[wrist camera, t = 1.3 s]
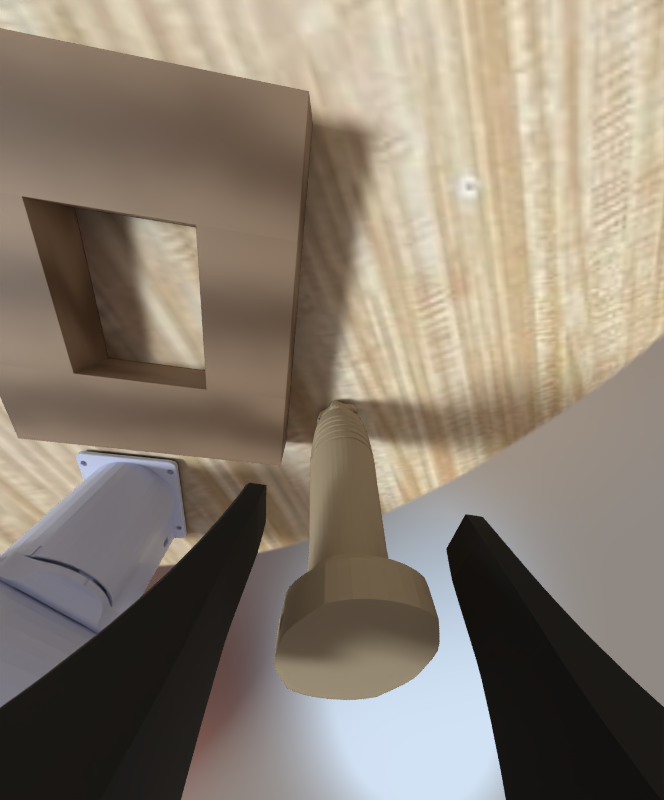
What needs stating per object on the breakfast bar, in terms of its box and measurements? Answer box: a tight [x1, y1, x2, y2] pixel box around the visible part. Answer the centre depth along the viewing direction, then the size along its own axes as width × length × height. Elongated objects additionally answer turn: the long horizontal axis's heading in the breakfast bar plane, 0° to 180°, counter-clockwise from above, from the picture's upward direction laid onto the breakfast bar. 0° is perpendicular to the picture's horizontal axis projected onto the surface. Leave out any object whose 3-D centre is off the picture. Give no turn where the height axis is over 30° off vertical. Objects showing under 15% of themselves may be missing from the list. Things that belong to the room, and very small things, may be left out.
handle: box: [274, 400, 439, 700], centre depth 15 cm, size 5×6×15 cm
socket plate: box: [0, 28, 313, 465], centre depth 17 cm, size 20×18×3 cm
